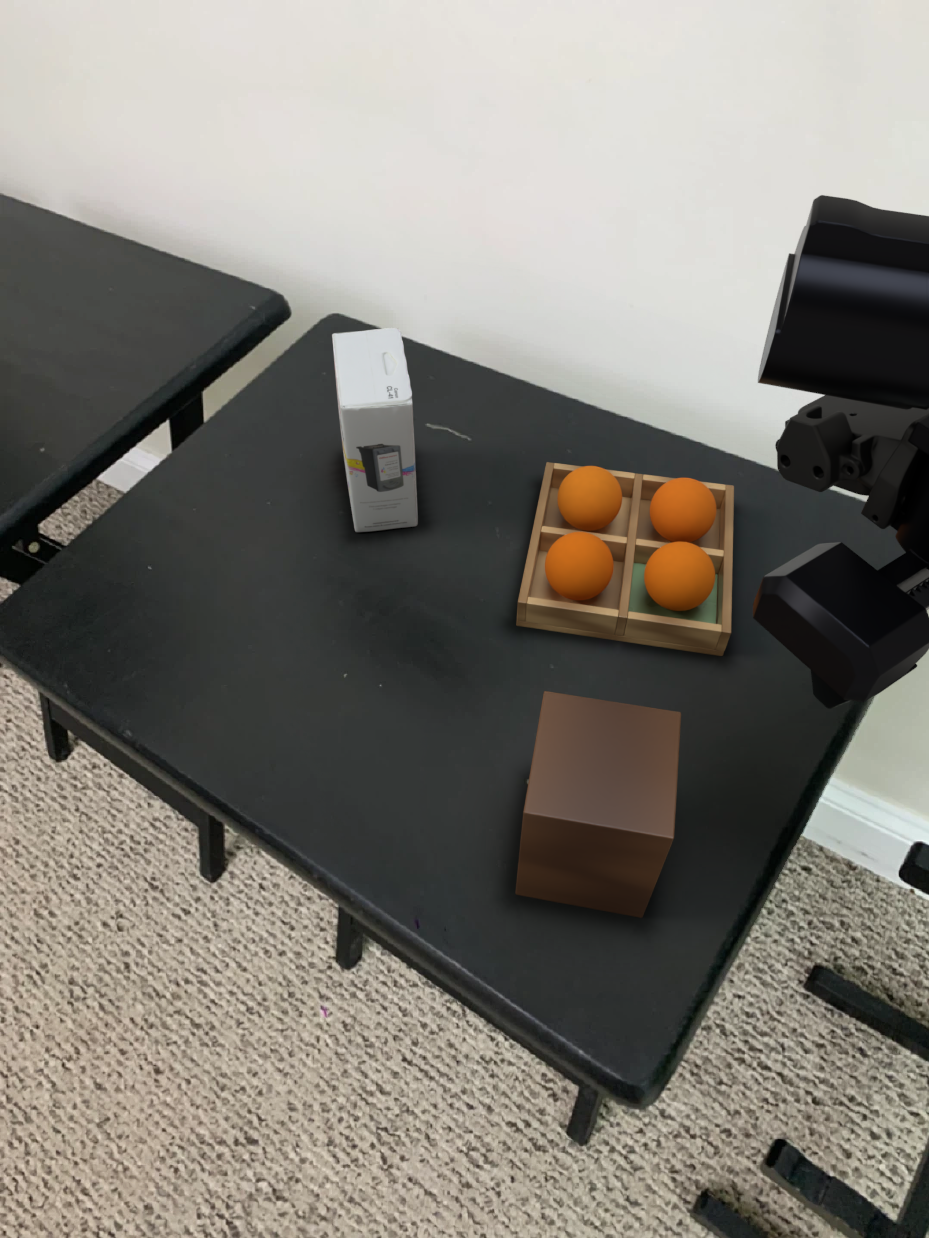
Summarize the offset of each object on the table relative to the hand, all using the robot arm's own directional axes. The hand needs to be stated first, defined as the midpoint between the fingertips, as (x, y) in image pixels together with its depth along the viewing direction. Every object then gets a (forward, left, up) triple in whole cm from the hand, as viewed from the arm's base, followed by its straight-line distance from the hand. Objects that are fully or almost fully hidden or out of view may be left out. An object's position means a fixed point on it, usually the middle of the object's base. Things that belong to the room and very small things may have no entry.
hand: (885, 658), depth 47 cm
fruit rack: (+13, -14, -11) cm, 22 cm away
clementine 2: (+16, -11, -10) cm, 22 cm away
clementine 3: (+10, -17, -10) cm, 22 cm away
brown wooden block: (+14, +8, -11) cm, 19 cm away
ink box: (+32, -18, -11) cm, 38 cm away
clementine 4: (+10, -11, -10) cm, 18 cm away
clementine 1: (+16, -17, -10) cm, 26 cm away
